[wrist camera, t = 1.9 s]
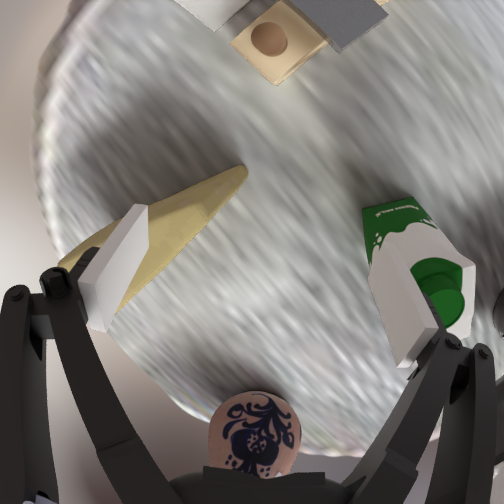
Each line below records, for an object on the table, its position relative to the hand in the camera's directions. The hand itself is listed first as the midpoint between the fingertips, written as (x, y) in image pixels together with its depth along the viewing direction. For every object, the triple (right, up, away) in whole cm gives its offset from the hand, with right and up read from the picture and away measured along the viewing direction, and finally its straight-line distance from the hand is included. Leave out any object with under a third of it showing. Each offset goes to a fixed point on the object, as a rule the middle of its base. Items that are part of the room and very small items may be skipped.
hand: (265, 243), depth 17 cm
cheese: (-10, +5, +25) cm, 28 cm away
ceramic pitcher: (+1, -33, +43) cm, 54 cm away
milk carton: (+17, +3, +21) cm, 27 cm away
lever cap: (+6, +23, +5) cm, 25 cm away
